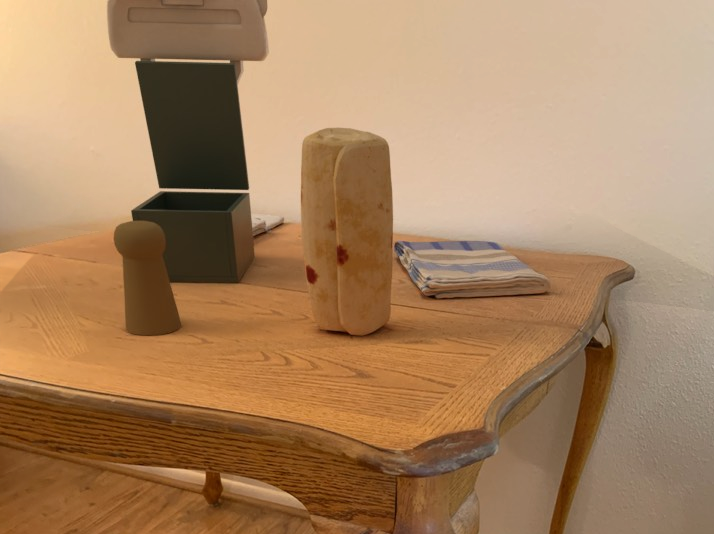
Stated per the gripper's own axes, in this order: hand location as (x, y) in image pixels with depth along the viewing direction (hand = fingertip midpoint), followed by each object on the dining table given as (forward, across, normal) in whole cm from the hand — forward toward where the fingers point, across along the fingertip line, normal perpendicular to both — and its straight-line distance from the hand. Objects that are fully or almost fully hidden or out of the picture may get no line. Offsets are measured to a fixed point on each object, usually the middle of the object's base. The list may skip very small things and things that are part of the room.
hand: (196, 100), depth 104 cm
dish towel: (+20, -37, +10) cm, 43 cm away
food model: (+20, -22, +35) cm, 46 cm away
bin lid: (+3, 0, +3) cm, 5 cm away
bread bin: (+20, 0, +9) cm, 22 cm away
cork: (+20, 0, +35) cm, 40 cm away
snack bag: (+20, +3, -17) cm, 27 cm away
